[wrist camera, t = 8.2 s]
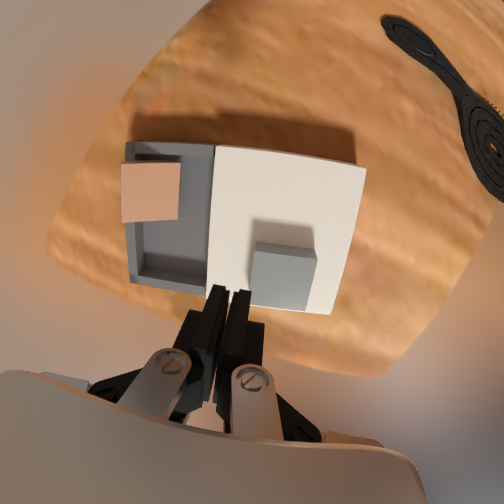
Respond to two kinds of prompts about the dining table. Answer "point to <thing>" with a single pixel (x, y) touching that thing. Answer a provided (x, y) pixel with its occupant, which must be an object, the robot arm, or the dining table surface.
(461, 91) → the hairbrush
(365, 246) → the dining table surface
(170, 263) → the tray
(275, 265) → the slate tile
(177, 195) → the terracotta tile
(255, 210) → the board
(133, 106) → the dining table surface
